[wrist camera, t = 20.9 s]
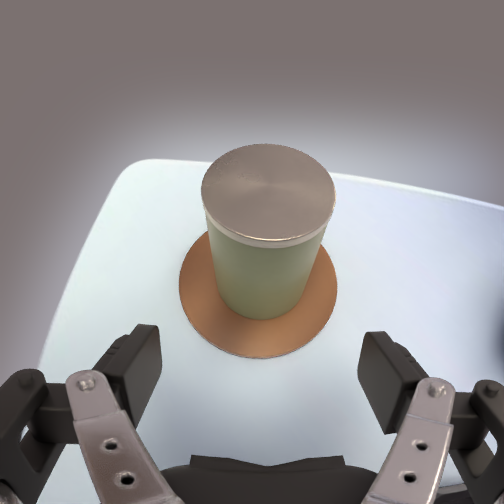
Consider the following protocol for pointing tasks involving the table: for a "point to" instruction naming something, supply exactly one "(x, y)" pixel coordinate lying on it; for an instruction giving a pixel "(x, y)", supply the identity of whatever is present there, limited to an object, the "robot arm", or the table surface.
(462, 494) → the pan
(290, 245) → the tin
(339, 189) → the table surface
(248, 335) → the coaster
